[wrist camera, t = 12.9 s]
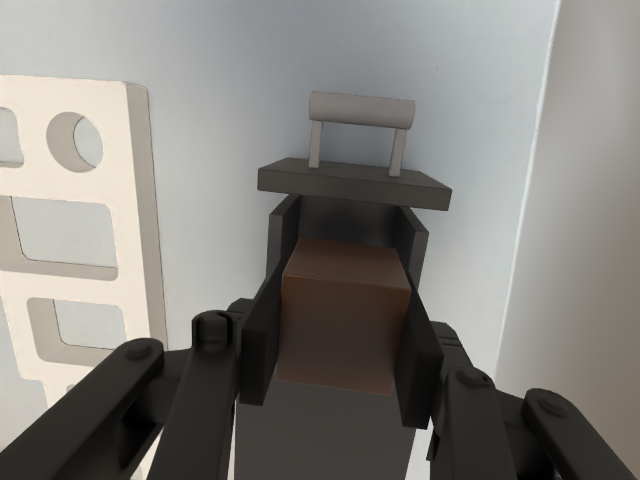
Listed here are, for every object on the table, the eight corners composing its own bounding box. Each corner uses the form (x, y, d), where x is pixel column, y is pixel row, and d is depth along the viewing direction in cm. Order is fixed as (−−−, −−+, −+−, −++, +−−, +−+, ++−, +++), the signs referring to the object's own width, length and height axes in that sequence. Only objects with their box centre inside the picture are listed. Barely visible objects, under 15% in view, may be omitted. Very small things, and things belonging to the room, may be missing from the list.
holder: (179, 503, 41) (168, 528, 38) (34, 483, 42) (13, 507, 39) (146, 86, 27) (125, 81, 25) (-66, 74, 28) (-108, 68, 26)
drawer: (290, 96, 26) (261, 79, 18) (431, 110, 25) (471, 99, 17) (276, 311, 31) (249, 376, 23) (393, 325, 31) (408, 398, 22)
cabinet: (274, 262, 31) (237, 325, 21) (406, 277, 30) (434, 350, 20) (266, 396, 35) (233, 502, 25) (381, 412, 35) (394, 527, 25)
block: (299, 236, 16) (282, 273, 12) (395, 247, 16) (411, 289, 12) (292, 320, 18) (274, 380, 14) (381, 332, 18) (390, 396, 13)
